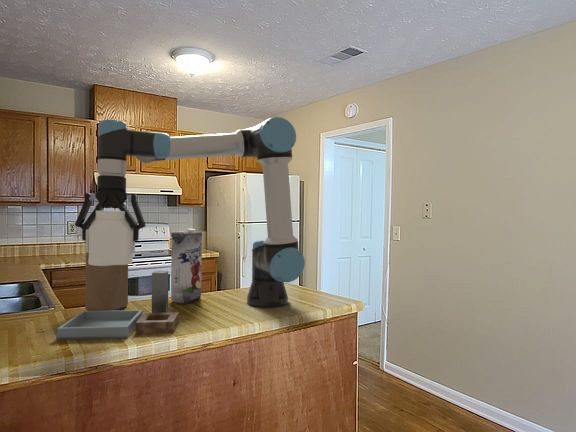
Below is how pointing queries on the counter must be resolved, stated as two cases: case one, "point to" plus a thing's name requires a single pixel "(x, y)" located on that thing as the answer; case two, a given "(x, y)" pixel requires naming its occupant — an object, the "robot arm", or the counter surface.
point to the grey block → (160, 292)
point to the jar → (109, 239)
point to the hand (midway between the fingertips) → (110, 252)
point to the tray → (100, 325)
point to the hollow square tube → (157, 323)
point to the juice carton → (186, 266)
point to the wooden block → (106, 287)
